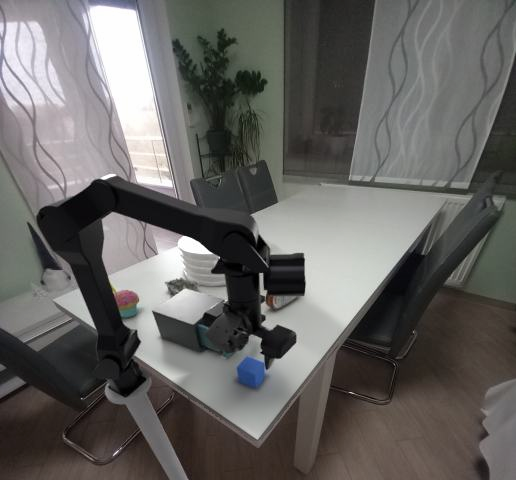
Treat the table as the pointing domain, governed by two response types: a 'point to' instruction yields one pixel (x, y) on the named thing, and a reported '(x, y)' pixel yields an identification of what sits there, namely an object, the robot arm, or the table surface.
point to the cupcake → (126, 302)
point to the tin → (278, 301)
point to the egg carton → (180, 285)
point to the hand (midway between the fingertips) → (250, 360)
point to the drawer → (205, 342)
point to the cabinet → (184, 317)
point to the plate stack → (199, 263)
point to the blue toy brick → (251, 372)
